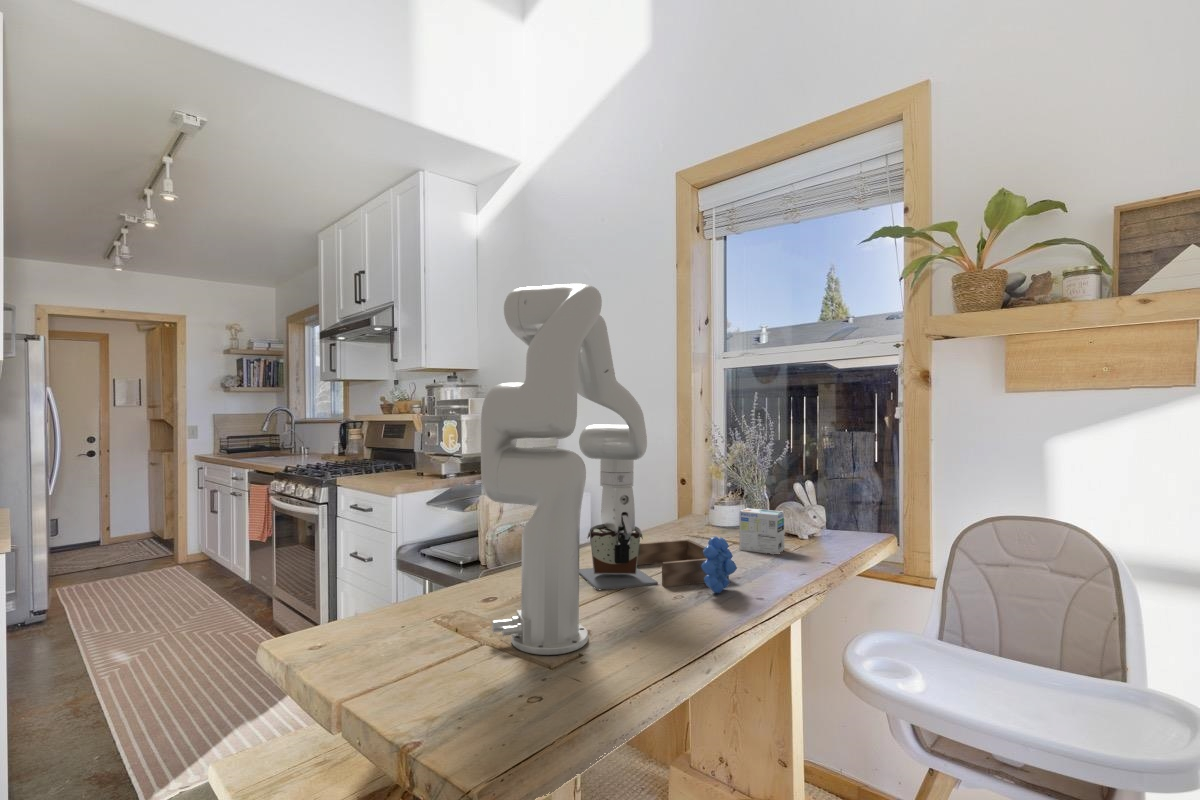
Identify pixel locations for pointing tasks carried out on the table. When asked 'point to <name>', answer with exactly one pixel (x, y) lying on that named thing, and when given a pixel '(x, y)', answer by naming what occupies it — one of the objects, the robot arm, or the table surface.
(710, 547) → the grapes
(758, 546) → the light bulb box
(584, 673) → the table surface
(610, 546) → the food container
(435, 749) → the table surface
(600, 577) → the gray mat
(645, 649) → the table surface
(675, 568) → the open side box
